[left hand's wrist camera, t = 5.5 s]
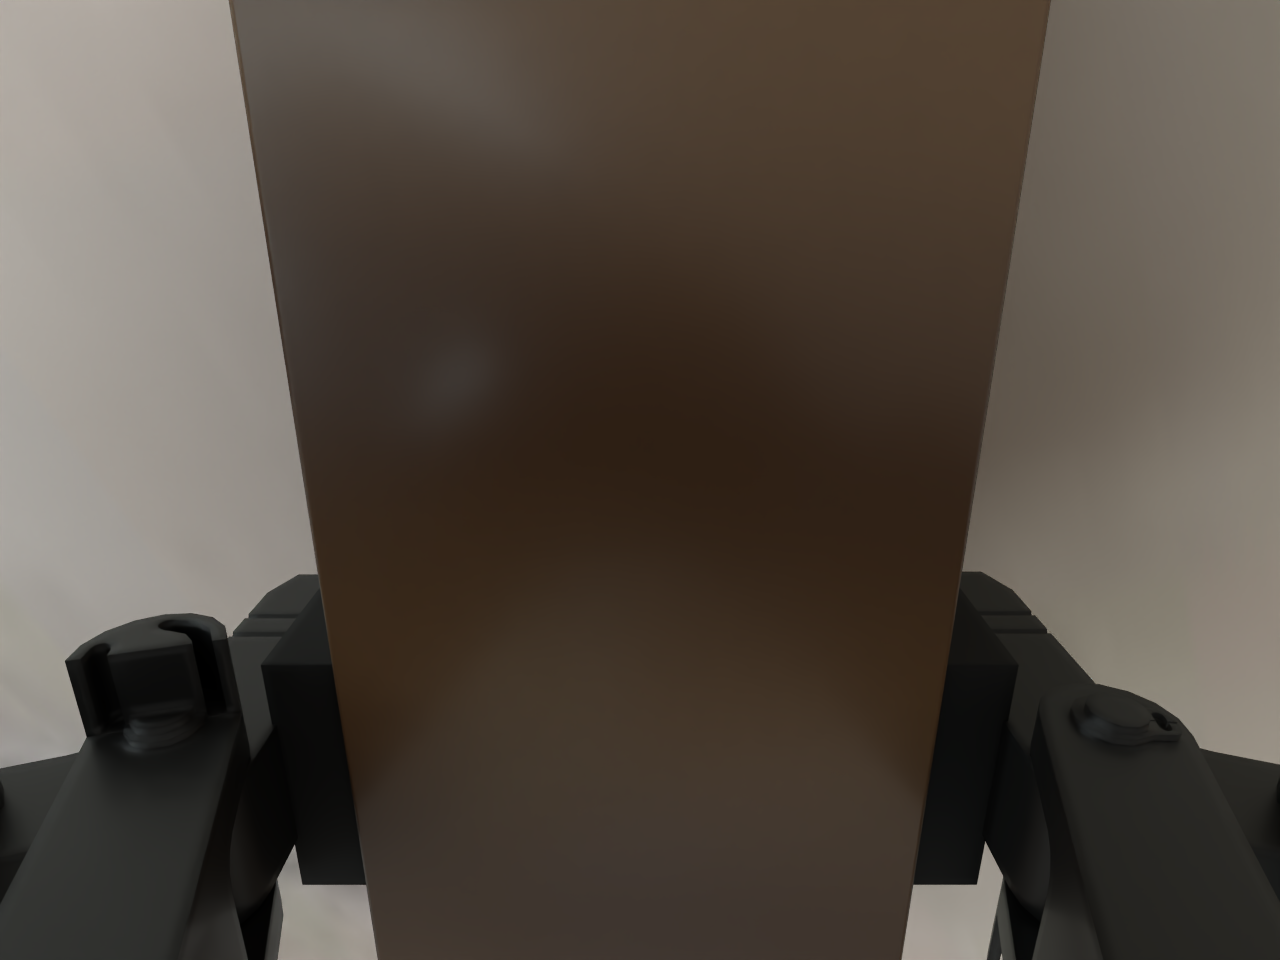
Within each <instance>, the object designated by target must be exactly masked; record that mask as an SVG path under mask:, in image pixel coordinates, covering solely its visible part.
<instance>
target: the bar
mask: <svg viewBox="0 0 1280 960" xmlns="http://www.w3.org/2000/svg"><path fill="white" fill-rule="evenodd" d="M1050 2H1051V0H229V5H230V11H231V18H232V24H233V31H234V37H235V43H236V50H237V56H238V63H239V69H240V76H241V82H242V88H243V95H244V101H245V108H246V114H247V121H248V127H249V133H250V140H251V146H252V153H253V159H254V166H255V172H256V178H257V185H258V191H259V198H260V204H261V211H262V217H263V223H264V230H265V236H266V243H267V249H268V256H269V262H270V269H271V275H272V281H273V288H274V294H275V301H276V307H277V314H278V320H279V326H280V333H281V339H282V346H283V352H284V359H285V365H286V371H287V378H288V384H289V391H290V397H291V404H292V410H293V416H294V423H295V429H296V436H297V442H298V449H299V455H300V462H301V468H302V474H303V481H304V487H305V494H306V500H307V507H308V513H309V519H310V526H311V532H312V539H313V545H314V552H315V558H316V564H317V571H318V577H319V584H320V590H321V597H322V603H323V609H324V616H325V622H326V629H327V635H328V642H329V648H330V654H331V661H332V667H333V674H334V680H335V687H336V693H337V700H338V706H339V712H340V719H341V725H342V732H343V738H344V745H345V751H346V757H347V764H348V770H349V777H350V783H351V790H352V796H353V802H354V809H355V815H356V822H357V828H358V835H359V841H360V847H361V854H362V860H363V867H364V873H365V880H366V886H367V893H368V899H369V905H370V912H371V918H372V925H373V931H374V938H375V944H376V950H377V957H378V960H901V959H902V953H903V946H904V940H905V933H906V927H907V921H908V914H909V908H910V901H911V895H912V889H913V882H914V876H915V869H916V863H917V856H918V850H919V844H920V837H921V831H922V824H923V818H924V811H925V805H926V799H927V792H928V786H929V779H930V773H931V767H932V760H933V754H934V747H935V741H936V734H937V728H938V722H939V715H940V709H941V702H942V696H943V689H944V683H945V677H946V670H947V664H948V657H949V651H950V645H951V638H952V632H953V625H954V619H955V612H956V606H957V600H958V593H959V587H960V580H961V574H962V567H963V561H964V555H965V548H966V542H967V535H968V529H969V523H970V516H971V510H972V503H973V497H974V490H975V484H976V478H977V471H978V465H979V458H980V452H981V445H982V439H983V433H984V426H985V420H986V413H987V407H988V401H989V394H990V388H991V381H992V375H993V368H994V362H995V356H996V349H997V343H998V336H999V330H1000V323H1001V317H1002V311H1003V304H1004V298H1005V291H1006V285H1007V279H1008V272H1009V266H1010V259H1011V253H1012V246H1013V240H1014V234H1015V227H1016V221H1017V214H1018V208H1019V201H1020V195H1021V189H1022V182H1023V176H1024V169H1025V163H1026V157H1027V150H1028V144H1029V137H1030V131H1031V124H1032V118H1033V112H1034V105H1035V99H1036V92H1037V86H1038V79H1039V73H1040V67H1041V60H1042V54H1043V47H1044V41H1045V35H1046V28H1047V22H1048V15H1049V9H1050Z"/></svg>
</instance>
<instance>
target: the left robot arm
mask: <svg viewBox="0 0 1280 960" xmlns="http://www.w3.org/2000/svg"><path fill="white" fill-rule="evenodd" d="M65 663H66V667H67V670H68V674H69V677H70V681H71V684H72V687H73V691H74V694H75V698H76V701H77V705H78V708H79V712H80V715H81V718H82V722H83V725H84V729H85V732H86V736H87V738H86V740H85V742H84V744H83V746H82V748H81V750H80V751H79V753H75V754H71V755H67V756H62V757H57V758H52V759H46V760H41V761H36V762H31V763H26V764H21V765H16V766H11V767H6V768H1V769H0V960H277V959H278V952H279V944H280V937H281V929H282V921H283V909H282V902H281V896H280V891H279V886H278V881H277V878H278V876H279V874H280V872H281V870H282V868H283V866H284V864H285V862H286V860H287V858H288V856H289V854H290V852H291V850H292V848H293V847H294V845H295V847H296V852H297V858H298V863H299V868H300V873H301V878H302V884H303V885H366V880H365V873H364V867H363V860H362V854H361V847H360V841H359V835H358V828H357V822H356V815H355V809H354V802H353V796H352V790H351V783H350V777H349V770H348V764H347V757H346V751H345V745H344V738H343V732H342V725H341V719H340V712H339V706H338V700H337V693H336V687H335V680H334V674H333V667H332V661H331V654H330V648H329V642H328V635H327V629H326V622H325V616H324V609H323V603H322V597H321V590H320V584H319V577H318V575H297V576H295V577H294V578H292V579H290V580H289V581H287V582H285V583H283V584H282V585H280V586H278V587H277V588H275V589H273V590H272V591H270V592H268V593H267V594H266V595H265V596H264V597H263V599H262V600H261V601H260V602H259V603H258V604H257V605H256V607H255V608H254V609H253V610H252V611H251V612H250V613H249V618H245V619H244V620H243V621H242V622H241V624H240V625H239V626H238V627H237V628H236V629H235V630H234V632H233V637H228V638H227V633H226V628H225V626H224V625H223V624H221V623H220V622H219V621H217V620H216V619H215V618H213V617H209V616H203V615H198V614H193V613H188V614H165V615H160V616H155V617H150V618H145V619H141V620H136V621H132V622H130V623H127V624H124V625H122V626H119V627H116V628H113V629H111V630H108V631H105V632H103V633H102V634H100V635H98V636H96V637H95V638H93V639H91V640H89V641H88V642H86V643H84V644H82V645H81V646H80V647H79V648H78V649H77V650H76V651H75V652H74V653H73V654H72V655H71V656H70V657H69V658H67V659H66V660H65ZM985 841H986V843H987V845H988V847H989V849H990V851H991V853H992V855H993V857H994V859H995V861H996V863H997V865H998V867H999V869H1000V871H1001V872H1002V874H1003V881H1002V886H1001V891H1000V896H999V901H998V905H997V910H996V915H995V920H994V925H993V930H992V935H991V939H990V944H989V949H988V955H987V960H1000V956H1001V954H1002V957H1003V960H1280V765H1278V764H1273V763H1268V762H1263V761H1258V760H1253V759H1248V758H1243V757H1238V756H1232V755H1227V754H1222V753H1217V752H1212V751H1208V750H1204V749H1200V748H1199V746H1198V744H1197V742H1196V740H1195V738H1194V736H1193V735H1192V734H1191V733H1190V732H1189V730H1188V729H1187V728H1186V727H1185V726H1184V724H1183V723H1182V722H1181V721H1180V720H1179V719H1178V718H1177V717H1175V716H1174V715H1172V714H1171V713H1169V712H1168V711H1166V710H1165V709H1164V708H1162V707H1161V706H1159V705H1158V704H1156V703H1154V702H1152V701H1149V700H1147V699H1145V698H1142V697H1140V696H1138V695H1135V694H1133V693H1131V692H1128V691H1125V690H1120V689H1116V688H1112V687H1108V686H1104V685H1100V684H1095V683H1094V682H1093V680H1092V679H1091V678H1090V677H1089V676H1088V675H1087V674H1086V673H1085V671H1084V670H1083V669H1082V668H1081V667H1080V666H1079V665H1078V663H1077V662H1076V661H1075V660H1074V659H1073V658H1072V657H1071V656H1070V654H1069V653H1068V652H1067V651H1066V650H1065V649H1064V648H1063V647H1062V645H1061V644H1060V643H1059V642H1058V641H1057V640H1056V639H1055V637H1054V636H1053V635H1052V634H1047V628H1046V627H1045V626H1044V625H1043V624H1042V623H1041V622H1040V621H1039V619H1038V618H1037V617H1036V616H1035V615H1031V610H1030V609H1029V608H1028V607H1027V606H1026V605H1025V604H1024V602H1023V601H1022V600H1021V599H1020V598H1019V597H1018V596H1017V595H1016V593H1015V592H1014V591H1013V590H1012V589H1010V588H1008V587H1006V586H1005V585H1003V584H1001V583H1000V582H998V581H996V580H994V579H993V578H991V577H989V576H988V575H986V574H984V573H982V572H962V574H961V580H960V587H959V593H958V600H957V606H956V612H955V619H954V625H953V632H952V638H951V645H950V651H949V657H948V664H947V670H946V677H945V683H944V689H943V696H942V702H941V709H940V715H939V722H938V728H937V734H936V741H935V747H934V754H933V760H932V767H931V773H930V779H929V786H928V792H927V799H926V805H925V811H924V818H923V824H922V831H921V837H920V844H919V850H918V856H917V863H916V869H915V876H914V882H913V885H977V881H978V876H979V870H980V865H981V860H982V855H983V850H984V844H985Z"/></svg>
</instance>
